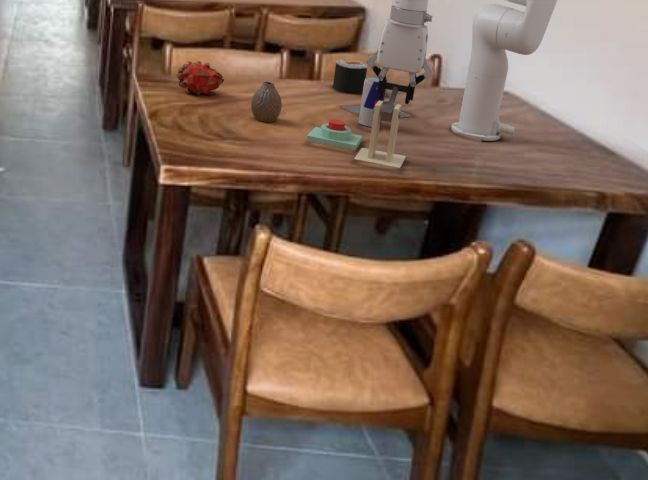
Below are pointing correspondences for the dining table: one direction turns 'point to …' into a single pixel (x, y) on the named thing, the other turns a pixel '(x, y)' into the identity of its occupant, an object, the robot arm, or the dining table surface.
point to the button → (336, 125)
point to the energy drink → (369, 101)
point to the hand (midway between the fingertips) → (394, 99)
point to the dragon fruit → (199, 78)
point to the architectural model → (387, 96)
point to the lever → (391, 101)
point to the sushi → (349, 76)
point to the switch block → (335, 137)
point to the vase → (266, 103)
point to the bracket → (372, 153)
